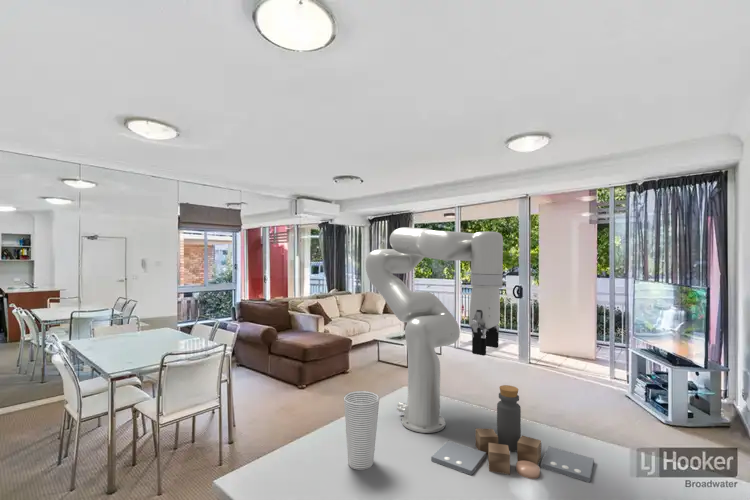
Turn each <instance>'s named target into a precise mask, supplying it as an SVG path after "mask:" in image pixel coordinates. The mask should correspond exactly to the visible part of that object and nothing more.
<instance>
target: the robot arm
mask: <svg viewBox="0 0 750 500" xmlns="http://www.w3.org/2000/svg"><path fill="white" fill-rule="evenodd" d="M389 244H390V247H391V248H378V249H375V250H374V249H373V250H372V251H369V253H368V254H367V256H366V259H365V270H366V271H365V272H366V275H367V278H368V280H369V282H370V283H371V285H372V286H373V287H374V288H375V290H376V291H378V293H379V294H380V295H381V296H382V297H383V299H384V300H385V303H387V304H386V305H387V306H388V307H389V308H390V310H391V311H392V313H393V314H394V315H395V317H396V318H397V319H398V320H399V321H400V322H402V323H406V325H405V329H404V336H405V342H406V347H407V348H406V349H407V404H406V403H405V402H401V401H399V402H398V403H397V408H396V410H397V412H399V413H403V416H402V420H401V421H402V422H401V423H402V425H403V426H404V427H405V428H406V429H408V430H410V431H413V432H416V433H423V434H433V433H437V432H440V431H443V430H444V428H445V427H446V420H445V419H444V418H443V416H441V361H440V358H439V356H438V355H437V352H436V350H435V349H436V348H441V347H446V346H451V345H453V344H455V343H457V341H458V340H459V338H460V336H461V335H460V334H461V330H460V326H459V323H458V321H457V320H456V317H454V315H453V314H452V313H451V311H449V309H448V308H447V307H446V305H444V303H443V302H442V301H441V300H440V298H439V297H437V295H435V294H434V293H432V292H428V291H412V290H411V289H409V287H408V286H407V285H406V283H404V281H403V280H402V279H400V278H399V277H398V276H396V275H395V274H407V273H410V272H412V271H413V270H414V269H415V268H416V267H417V266H418V264H419V263H421V262H422V260H423V259H424V258H428V259H435V260H439V261H441V260H442V261H461V262H462V261H463V262H470V287H471V293H470V300H469V301H470V302H469V317H468V320H469V321H468V325H469V327H470V328H471V339H472V340H471V343H472V345H471V353H472V355H478V356H483V357H484V356H486V355H487V347H488V348H494V349H497V348H499V338H500V337H499V335H500V334H499V331H500V329H499V324H500V319H501V307H500V306H501V302H500V300H501V299H500V289H502V288H503V263H504V262H503V261H504V258H503V256H504V251H503V250H504V238H503V235H502V234H501V233H500V232H497V231H477V232H475V233H472V232H471V233H470V232H462V231H448V230H446V231H445V230H433V229H431V228H425V227H424V228H421V227H420V228H419V227H406V226H405V227H404V226H403V227H399V228H396V229H394V230H393V231H392V232H391V234H390V235H389Z"/></svg>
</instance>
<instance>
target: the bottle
mask: <svg viewBox="0 0 750 500" xmlns="http://www.w3.org/2000/svg"><path fill="white" fill-rule="evenodd" d="M498 387H499V392H498V399H499V400H500V401H498V402H497V404H496V434H497V436H498V444H503V445H508V447H509V452H517V442H518V441H519V439H520V438H521V436H522V435H521V432H522V431H521V430H522V428H521V427H522V425H521V424H522V423H521V422H522V421H521V420H522V419H521V418H522V417H521V416H522V414H521V413H522V411H521V409H522V408H521V405H520V404H519V403H518V402H519V401H520V395H518V394H519V393H518V392H519V388H518V387H516V386H514V385H506V384H503V385H500V386H498Z"/></svg>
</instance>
